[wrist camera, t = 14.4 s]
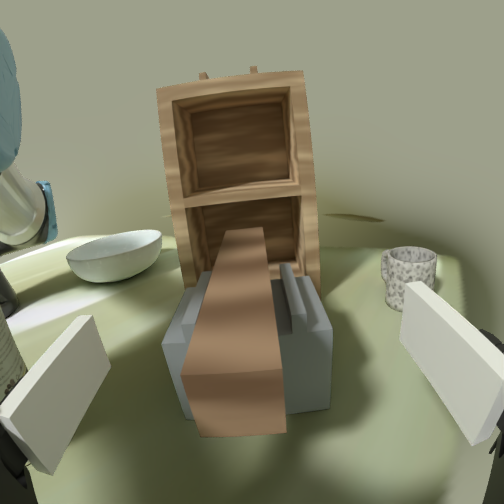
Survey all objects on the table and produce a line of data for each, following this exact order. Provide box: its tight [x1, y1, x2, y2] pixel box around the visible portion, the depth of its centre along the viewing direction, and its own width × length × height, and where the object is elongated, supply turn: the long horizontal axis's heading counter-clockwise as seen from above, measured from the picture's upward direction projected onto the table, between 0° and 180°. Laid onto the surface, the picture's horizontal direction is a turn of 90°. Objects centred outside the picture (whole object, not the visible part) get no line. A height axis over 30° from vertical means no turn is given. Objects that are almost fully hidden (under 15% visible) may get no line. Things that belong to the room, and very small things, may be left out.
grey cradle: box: [161, 263, 333, 419], centre depth 27 cm, size 10×12×10 cm
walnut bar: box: [180, 227, 287, 437], centre depth 24 cm, size 24×4×4 cm, turn 0°
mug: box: [381, 246, 437, 312], centre depth 39 cm, size 10×7×7 cm, turn 13°
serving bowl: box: [66, 230, 162, 282], centre depth 61 cm, size 21×21×7 cm
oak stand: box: [156, 66, 321, 301], centre depth 44 cm, size 14×18×31 cm
